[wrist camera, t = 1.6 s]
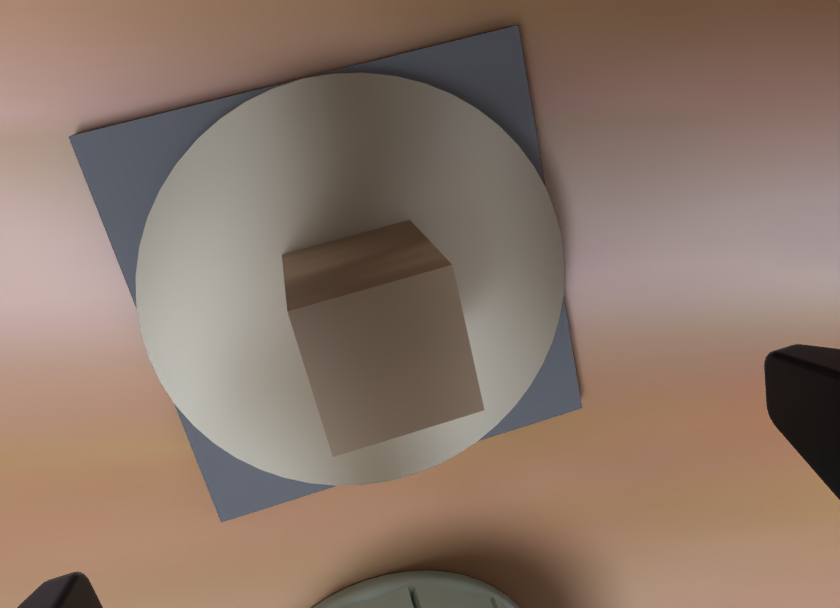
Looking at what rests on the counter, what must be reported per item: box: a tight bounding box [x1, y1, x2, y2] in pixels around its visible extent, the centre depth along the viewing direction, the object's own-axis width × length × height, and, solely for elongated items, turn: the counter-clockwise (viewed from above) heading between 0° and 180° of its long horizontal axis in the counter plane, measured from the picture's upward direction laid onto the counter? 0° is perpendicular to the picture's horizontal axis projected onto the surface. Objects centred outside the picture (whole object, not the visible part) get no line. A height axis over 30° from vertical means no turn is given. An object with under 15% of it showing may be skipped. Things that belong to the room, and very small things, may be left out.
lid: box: [136, 73, 565, 486], centre depth 15 cm, size 10×10×5 cm
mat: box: [69, 25, 582, 522], centre depth 18 cm, size 10×10×1 cm
